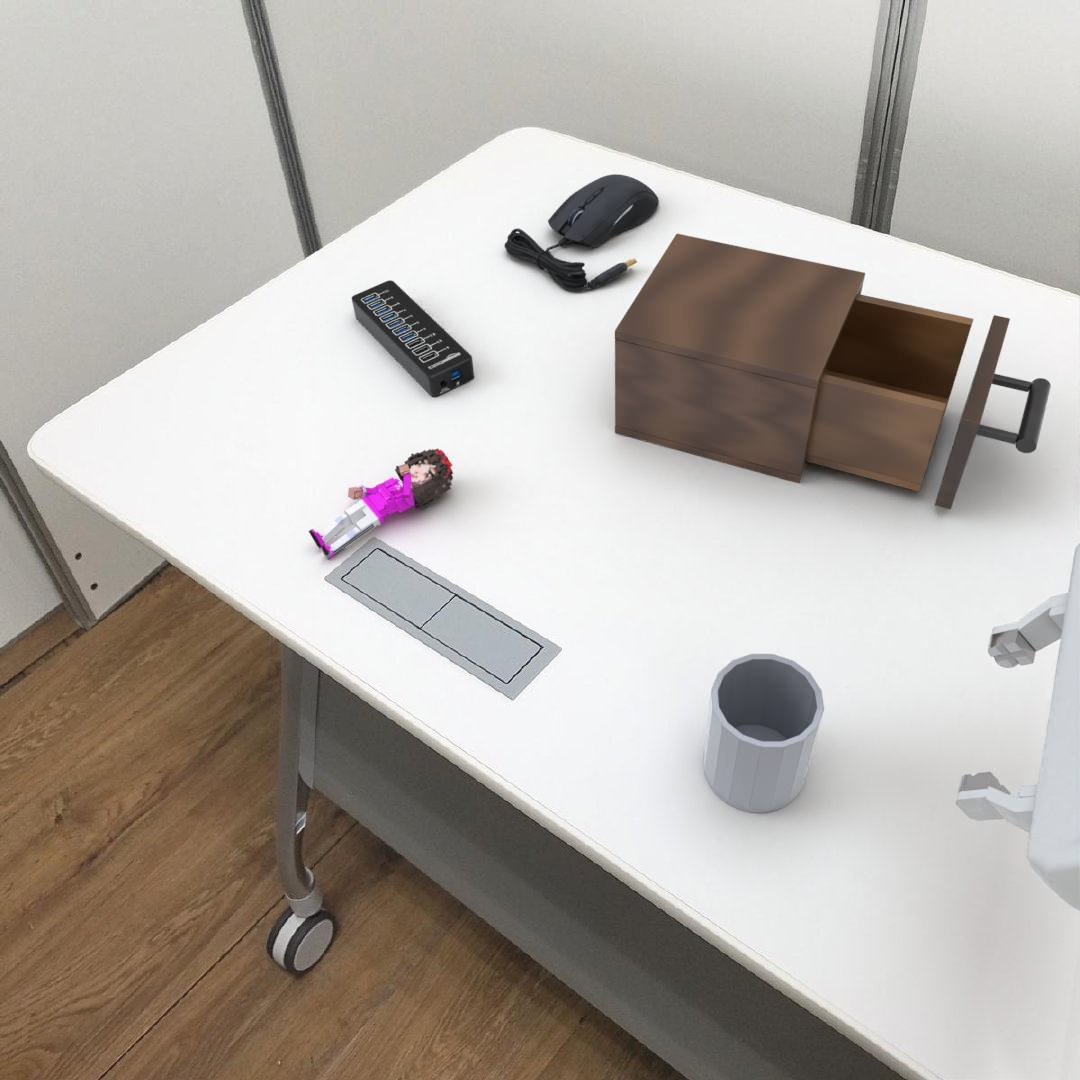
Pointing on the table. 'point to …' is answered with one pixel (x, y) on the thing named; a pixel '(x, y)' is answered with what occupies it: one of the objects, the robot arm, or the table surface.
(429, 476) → the character figurine
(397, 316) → the multiport hub
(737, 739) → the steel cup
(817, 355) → the cabinet
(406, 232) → the table surface
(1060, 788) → the robot arm
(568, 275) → the computer mouse
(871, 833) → the table surface
